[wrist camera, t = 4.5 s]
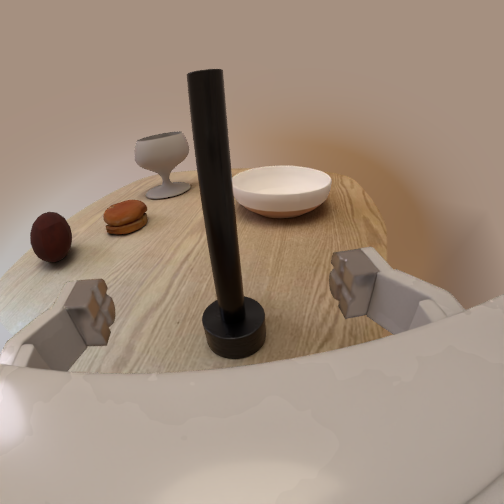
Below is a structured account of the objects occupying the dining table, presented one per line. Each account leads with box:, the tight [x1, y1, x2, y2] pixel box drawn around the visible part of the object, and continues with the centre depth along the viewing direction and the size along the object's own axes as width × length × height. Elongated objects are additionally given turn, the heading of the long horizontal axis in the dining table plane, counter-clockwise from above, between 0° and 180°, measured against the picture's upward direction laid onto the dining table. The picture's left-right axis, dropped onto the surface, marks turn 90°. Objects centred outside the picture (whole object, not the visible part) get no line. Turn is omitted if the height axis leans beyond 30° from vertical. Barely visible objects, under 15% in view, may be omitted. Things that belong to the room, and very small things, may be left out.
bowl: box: [232, 166, 331, 218], centre depth 55 cm, size 20×20×6 cm
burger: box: [104, 200, 148, 234], centre depth 53 cm, size 10×9×5 cm
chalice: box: [135, 132, 190, 199], centre depth 67 cm, size 14×14×15 cm
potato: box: [30, 212, 72, 262], centre depth 42 cm, size 9×12×9 cm
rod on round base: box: [187, 69, 266, 359], centre depth 22 cm, size 6×6×24 cm
